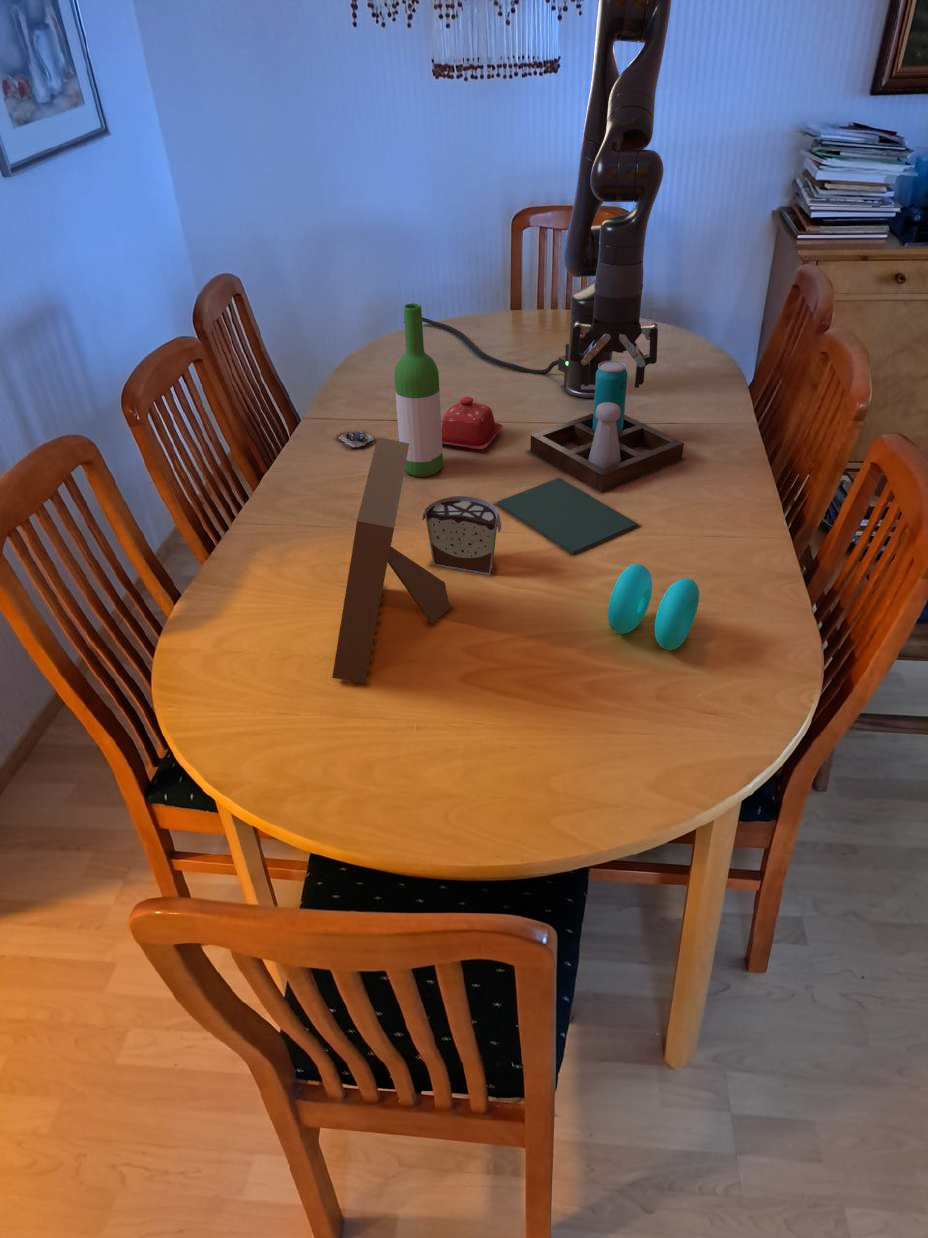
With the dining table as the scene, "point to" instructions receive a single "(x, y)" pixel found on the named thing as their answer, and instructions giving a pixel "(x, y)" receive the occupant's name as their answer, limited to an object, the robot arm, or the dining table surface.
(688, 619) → the donuts
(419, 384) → the wine bottle
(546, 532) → the placemat
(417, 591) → the photo frame
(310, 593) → the dining table surface
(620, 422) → the beverage can
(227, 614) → the dining table surface
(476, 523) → the food container
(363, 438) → the blueberries
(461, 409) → the butter dish
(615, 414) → the salt shaker
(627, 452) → the stand
